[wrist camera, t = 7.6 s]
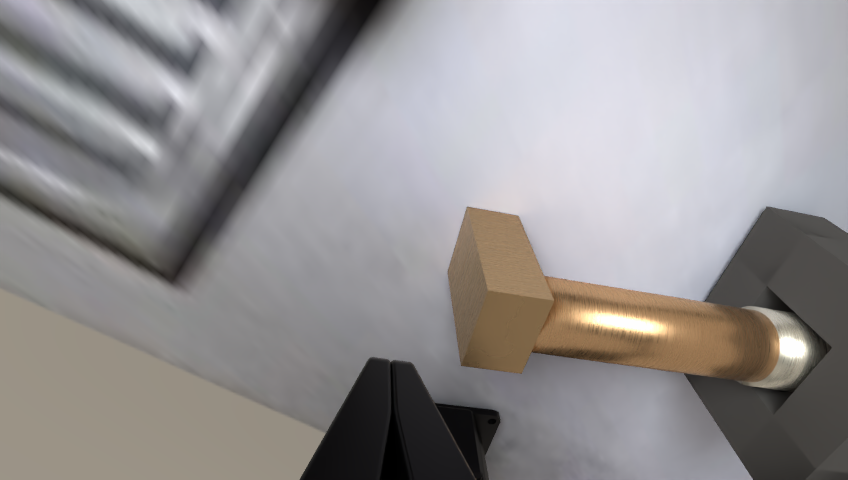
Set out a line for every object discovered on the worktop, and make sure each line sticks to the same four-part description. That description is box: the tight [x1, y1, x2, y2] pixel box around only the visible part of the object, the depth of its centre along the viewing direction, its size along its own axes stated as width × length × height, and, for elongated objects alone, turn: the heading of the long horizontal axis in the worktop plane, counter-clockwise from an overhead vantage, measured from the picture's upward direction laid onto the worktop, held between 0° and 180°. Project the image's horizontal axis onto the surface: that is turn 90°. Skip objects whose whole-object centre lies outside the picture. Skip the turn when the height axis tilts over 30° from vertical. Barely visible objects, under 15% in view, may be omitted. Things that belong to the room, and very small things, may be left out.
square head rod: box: [448, 207, 832, 392], centre depth 22 cm, size 20×4×6 cm, turn 78°
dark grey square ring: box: [684, 207, 848, 480], centre depth 21 cm, size 3×9×9 cm, turn 168°
